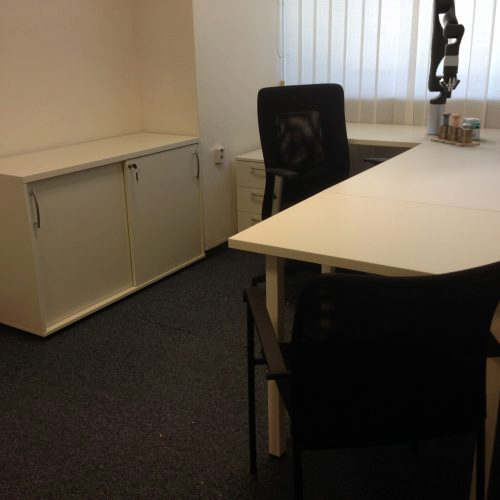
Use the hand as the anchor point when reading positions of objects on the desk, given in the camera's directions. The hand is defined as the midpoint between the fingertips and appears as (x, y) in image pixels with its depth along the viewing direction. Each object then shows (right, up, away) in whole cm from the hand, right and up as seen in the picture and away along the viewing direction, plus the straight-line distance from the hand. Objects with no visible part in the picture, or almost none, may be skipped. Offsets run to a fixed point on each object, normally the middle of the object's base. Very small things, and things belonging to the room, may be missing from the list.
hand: (448, 98), depth 313 cm
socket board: (+4, -24, 0) cm, 24 cm away
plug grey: (+6, -25, -7) cm, 26 cm away
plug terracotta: (+3, -18, -1) cm, 19 cm away
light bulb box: (+17, -19, +12) cm, 28 cm away
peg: (0, -16, +6) cm, 17 cm away
